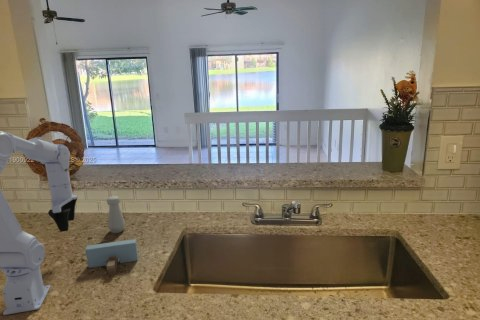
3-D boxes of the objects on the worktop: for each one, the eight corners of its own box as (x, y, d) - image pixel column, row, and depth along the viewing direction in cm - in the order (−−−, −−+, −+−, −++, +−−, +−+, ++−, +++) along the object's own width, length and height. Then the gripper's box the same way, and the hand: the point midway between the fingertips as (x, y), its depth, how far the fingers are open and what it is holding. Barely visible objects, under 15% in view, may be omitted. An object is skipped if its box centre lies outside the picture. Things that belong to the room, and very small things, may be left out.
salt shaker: (105, 232, 122) (100, 198, 118) (117, 226, 126) (113, 193, 123) (117, 235, 119) (112, 201, 116) (129, 228, 124) (124, 195, 120)
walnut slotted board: (115, 274, 96) (114, 265, 95) (108, 275, 95) (106, 266, 95) (120, 250, 109) (119, 241, 108) (113, 250, 109) (112, 242, 108)
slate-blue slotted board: (137, 260, 103) (135, 242, 101) (88, 267, 100) (85, 249, 98) (138, 256, 105) (135, 239, 103) (90, 263, 102) (87, 245, 100)
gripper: (68, 190, 95) (76, 234, 98) (79, 175, 108) (85, 214, 112) (40, 193, 93) (49, 237, 97) (55, 177, 107) (62, 217, 110)
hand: (67, 225), depth 104 cm, fingers open, 7 cm apart
